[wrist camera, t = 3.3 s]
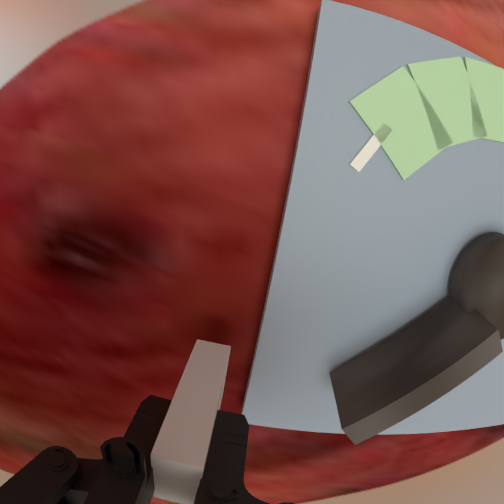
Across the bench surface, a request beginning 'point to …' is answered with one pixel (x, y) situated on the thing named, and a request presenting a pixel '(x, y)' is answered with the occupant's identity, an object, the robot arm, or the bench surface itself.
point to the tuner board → (378, 216)
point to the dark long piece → (428, 348)
